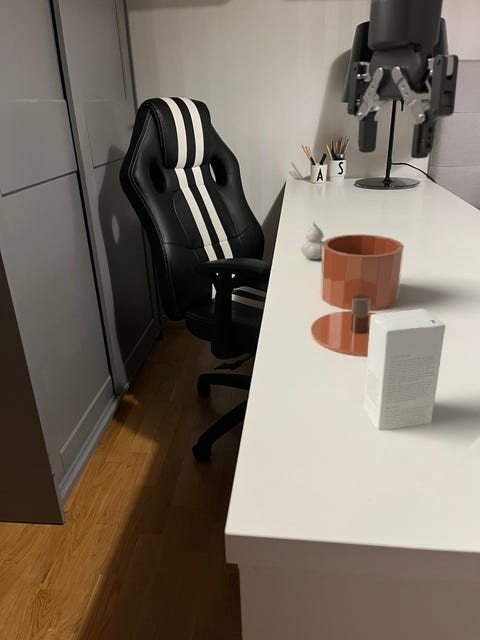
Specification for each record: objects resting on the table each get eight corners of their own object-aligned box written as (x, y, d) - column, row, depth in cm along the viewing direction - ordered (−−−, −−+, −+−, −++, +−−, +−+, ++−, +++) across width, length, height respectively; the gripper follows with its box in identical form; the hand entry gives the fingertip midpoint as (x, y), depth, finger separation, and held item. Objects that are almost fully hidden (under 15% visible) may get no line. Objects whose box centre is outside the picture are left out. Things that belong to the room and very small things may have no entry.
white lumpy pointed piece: (300, 254, 108) (301, 218, 105) (331, 254, 107) (333, 217, 104) (301, 262, 103) (301, 224, 100) (333, 262, 103) (335, 224, 99)
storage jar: (348, 280, 93) (352, 230, 89) (411, 297, 84) (418, 243, 80) (305, 300, 85) (307, 246, 81) (370, 321, 77) (375, 262, 73)
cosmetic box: (412, 404, 56) (425, 307, 51) (431, 427, 52) (448, 324, 47) (360, 411, 55) (369, 313, 50) (376, 435, 52) (387, 331, 47)
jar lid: (346, 310, 81) (348, 274, 78) (425, 335, 72) (431, 296, 69) (291, 338, 72) (292, 299, 70) (373, 371, 63) (377, 327, 61)
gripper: (487, -11, 50) (462, 157, 57) (383, 9, 61) (372, 148, 68) (436, -16, 47) (416, 163, 54) (336, 6, 58) (329, 152, 65)
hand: (391, 154), depth 61 cm, fingers open, 8 cm apart
